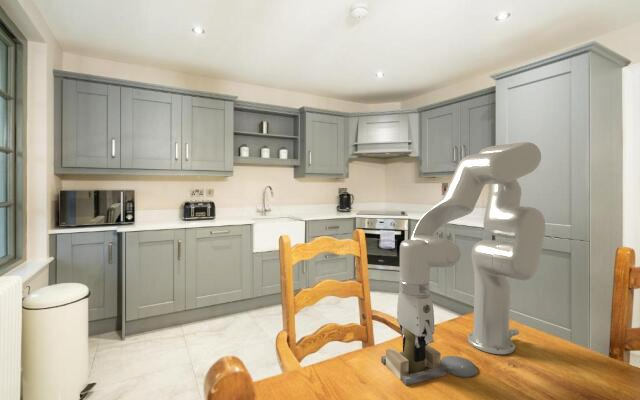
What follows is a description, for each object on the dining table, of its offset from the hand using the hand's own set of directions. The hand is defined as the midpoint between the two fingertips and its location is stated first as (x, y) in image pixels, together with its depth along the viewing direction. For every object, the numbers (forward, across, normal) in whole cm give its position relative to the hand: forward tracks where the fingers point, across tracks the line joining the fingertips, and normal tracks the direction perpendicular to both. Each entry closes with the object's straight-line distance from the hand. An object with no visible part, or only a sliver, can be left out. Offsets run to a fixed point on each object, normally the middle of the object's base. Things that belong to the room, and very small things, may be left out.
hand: (413, 355), depth 84 cm
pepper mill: (+3, 0, 0) cm, 3 cm away
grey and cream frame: (+3, 0, 0) cm, 3 cm away
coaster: (+3, -4, -11) cm, 12 cm away
